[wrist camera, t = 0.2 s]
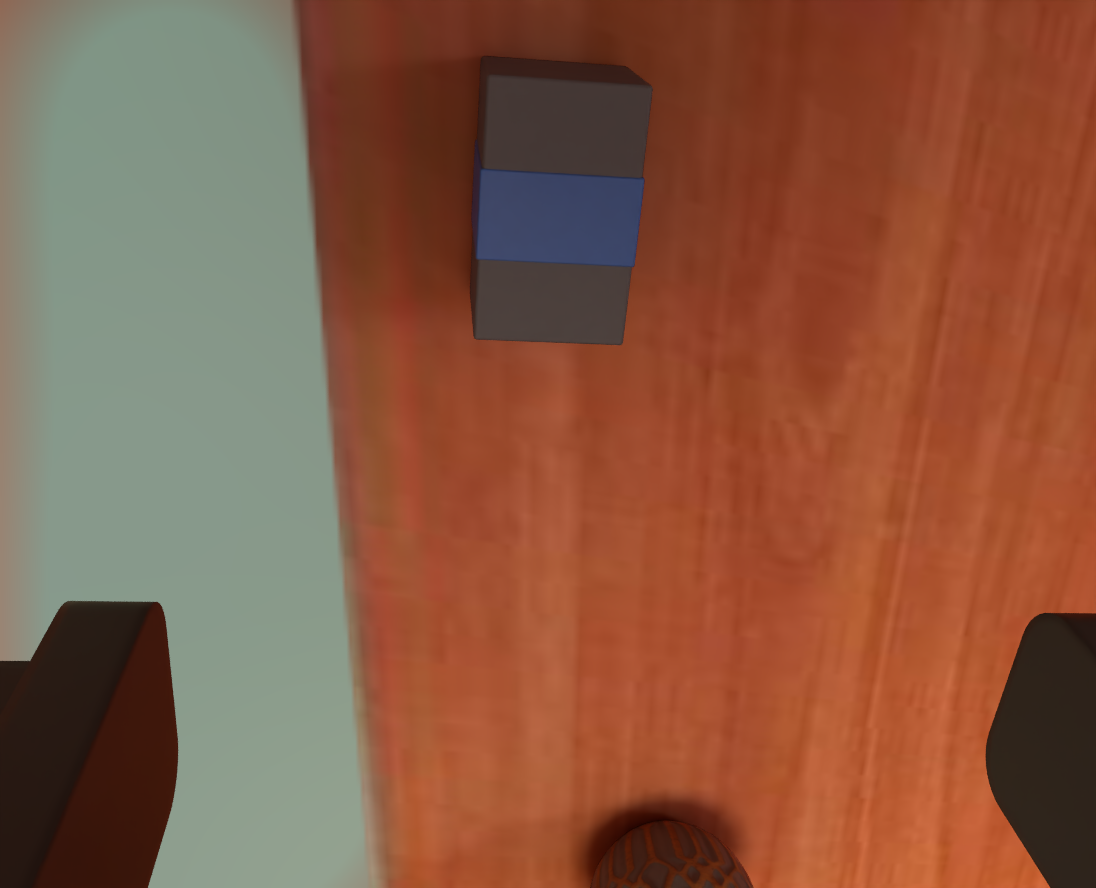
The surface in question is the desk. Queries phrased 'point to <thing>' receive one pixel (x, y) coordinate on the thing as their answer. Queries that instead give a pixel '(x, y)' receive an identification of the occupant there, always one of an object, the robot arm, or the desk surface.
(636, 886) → the vase
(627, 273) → the block
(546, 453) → the desk surface
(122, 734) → the robot arm
